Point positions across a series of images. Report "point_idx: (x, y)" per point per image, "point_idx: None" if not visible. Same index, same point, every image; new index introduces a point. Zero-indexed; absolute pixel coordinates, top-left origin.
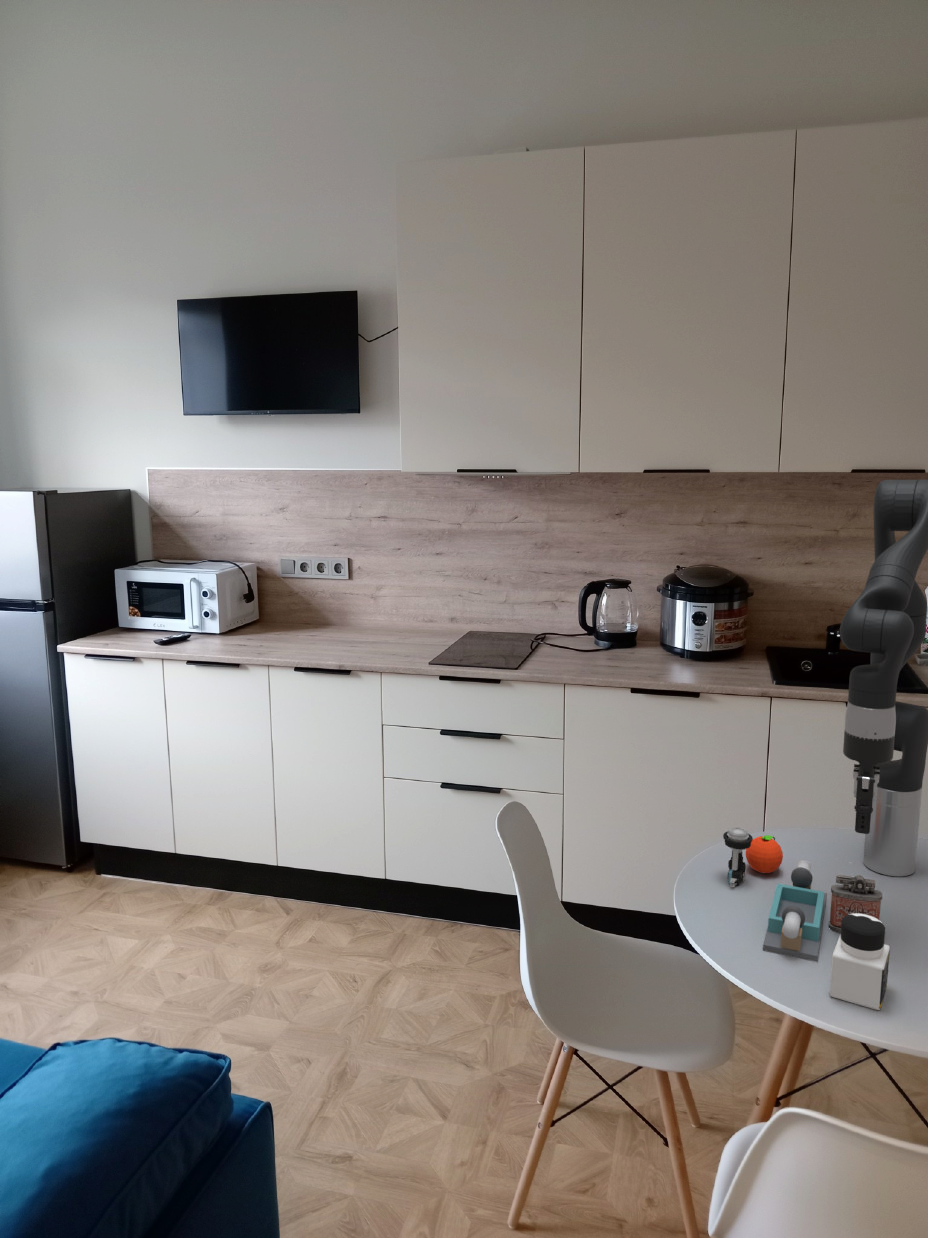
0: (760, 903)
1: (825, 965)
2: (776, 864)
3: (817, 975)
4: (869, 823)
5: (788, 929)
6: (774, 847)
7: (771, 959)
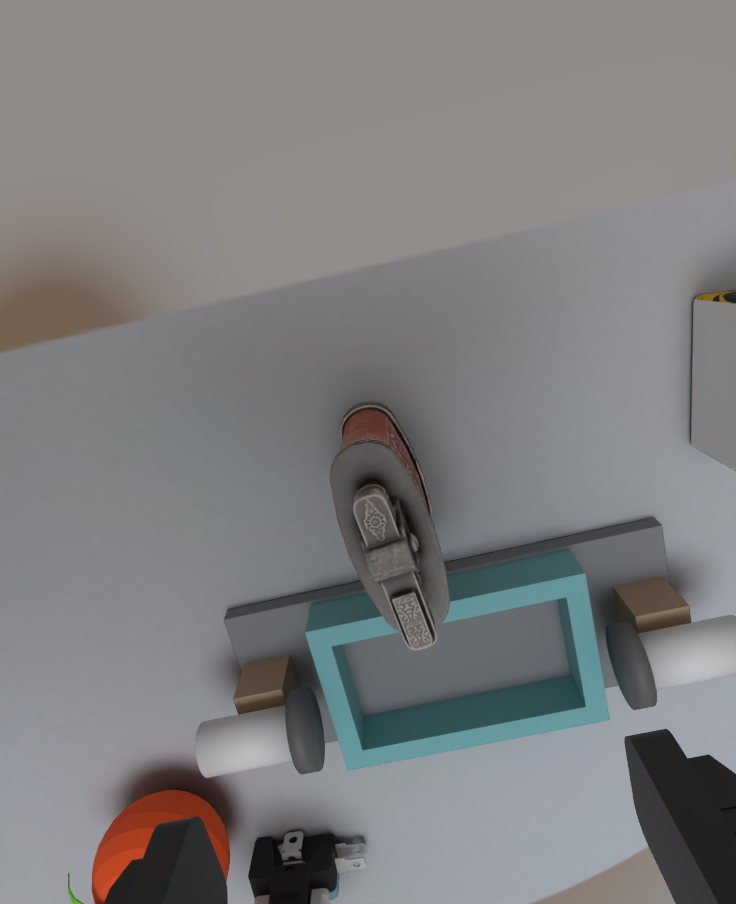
0: None
1: (659, 491)
2: (189, 810)
3: (731, 493)
4: (717, 811)
5: None
6: None
7: None
